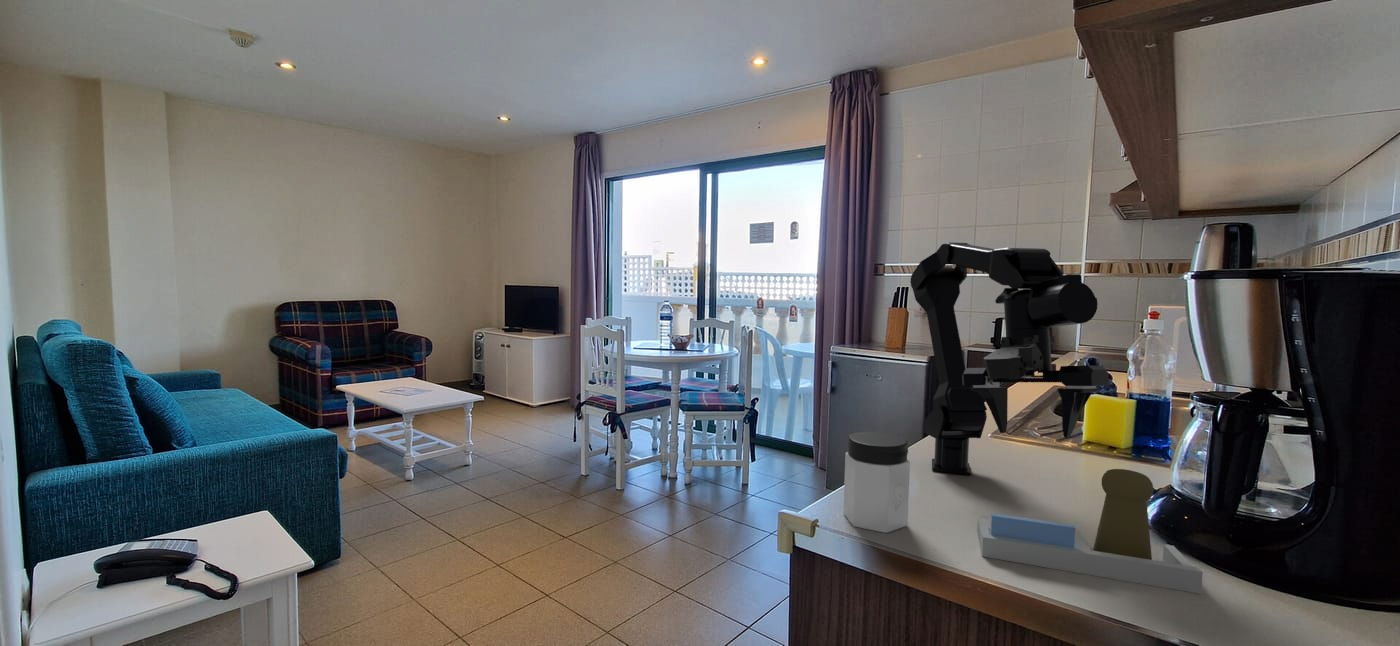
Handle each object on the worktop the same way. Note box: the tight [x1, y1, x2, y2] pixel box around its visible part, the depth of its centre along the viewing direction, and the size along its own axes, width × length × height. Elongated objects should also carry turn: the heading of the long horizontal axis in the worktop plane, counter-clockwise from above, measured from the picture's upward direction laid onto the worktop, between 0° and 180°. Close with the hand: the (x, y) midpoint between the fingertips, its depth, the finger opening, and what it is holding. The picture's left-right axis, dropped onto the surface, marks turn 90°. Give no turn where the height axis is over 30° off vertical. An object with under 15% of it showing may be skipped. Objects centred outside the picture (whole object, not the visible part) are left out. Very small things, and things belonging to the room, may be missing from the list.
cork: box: [1092, 468, 1154, 560], centre depth 72 cm, size 6×6×11 cm
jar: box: [843, 431, 911, 534], centre depth 82 cm, size 9×8×12 cm
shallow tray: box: [976, 513, 1204, 595], centre depth 72 cm, size 9×22×5 cm, turn 68°
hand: (1033, 435), depth 85 cm, fingers open, 9 cm apart
